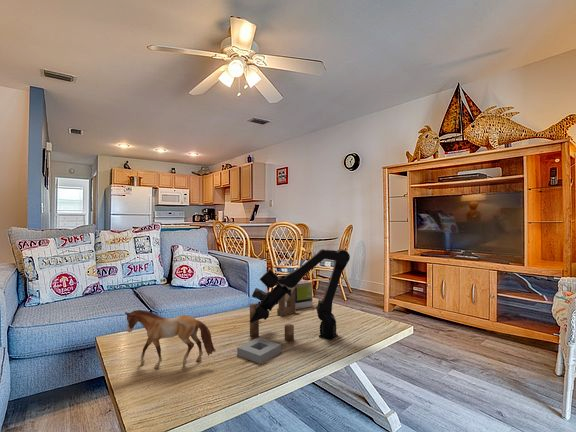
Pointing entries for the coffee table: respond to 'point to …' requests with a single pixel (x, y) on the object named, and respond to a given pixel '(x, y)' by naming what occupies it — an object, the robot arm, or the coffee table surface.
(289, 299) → the wooden block
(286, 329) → the short walnut stub
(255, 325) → the tall walnut pin
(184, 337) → the horse figurine
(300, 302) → the tea box
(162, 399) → the coffee table surface
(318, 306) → the robot arm
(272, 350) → the slate collar block
